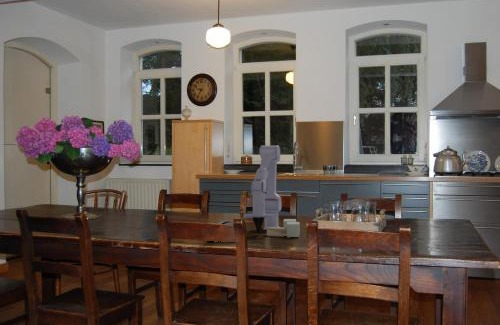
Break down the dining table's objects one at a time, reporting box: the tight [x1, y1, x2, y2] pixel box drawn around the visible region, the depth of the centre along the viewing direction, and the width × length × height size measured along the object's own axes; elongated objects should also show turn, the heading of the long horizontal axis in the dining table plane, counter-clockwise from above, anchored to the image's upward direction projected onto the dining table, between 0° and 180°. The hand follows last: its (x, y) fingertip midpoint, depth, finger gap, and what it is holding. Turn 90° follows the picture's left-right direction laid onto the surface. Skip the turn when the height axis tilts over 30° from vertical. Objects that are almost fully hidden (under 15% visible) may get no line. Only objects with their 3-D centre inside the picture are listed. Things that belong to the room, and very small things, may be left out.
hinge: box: [217, 220, 234, 225], centre depth 223 cm, size 17×5×10 cm, turn 153°
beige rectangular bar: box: [266, 226, 287, 237], centre depth 234 cm, size 4×14×4 cm, turn 82°
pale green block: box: [283, 218, 297, 227], centre depth 243 cm, size 8×6×6 cm
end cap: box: [286, 221, 301, 238], centre depth 233 cm, size 8×6×6 cm
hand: (258, 233), depth 235 cm, fingers closed
